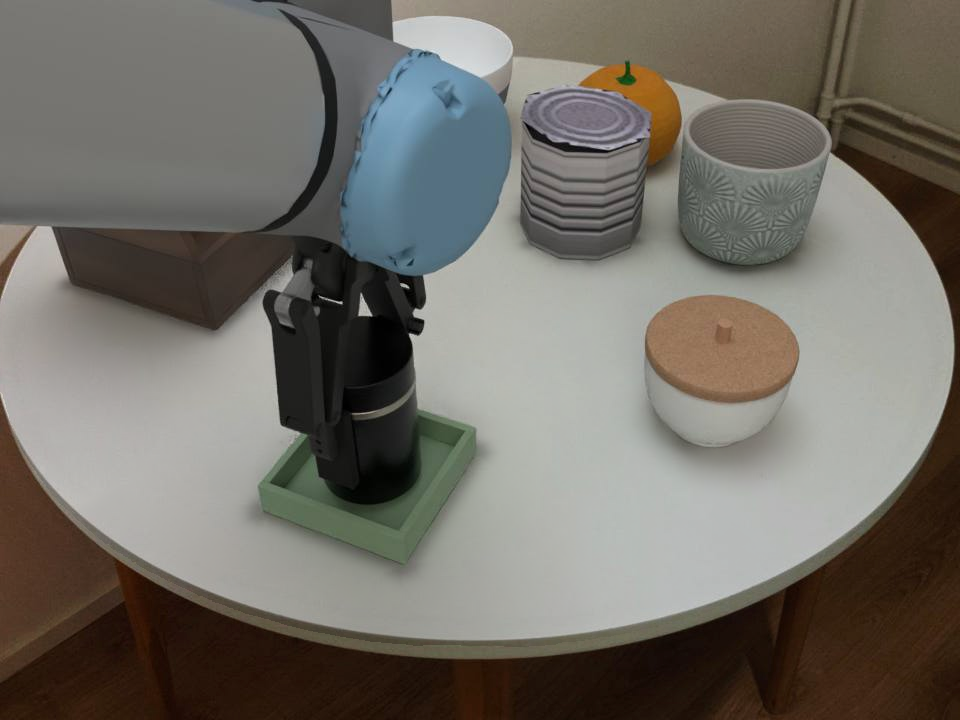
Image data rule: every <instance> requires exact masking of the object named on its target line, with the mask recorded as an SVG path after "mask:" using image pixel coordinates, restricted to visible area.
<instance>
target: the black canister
mask: <svg viewBox="0 0 960 720" xmlns="http://www.w3.org/2000/svg"><path fill="white" fill-rule="evenodd" d="M416 383H417V372H416V367H415V357H414V346H413V341H412V339H411V336H410V334H409V335H408V333H407V332H406V331H405V330H404V329H403V328H402V327H400V326H399V325H397V324H396V323H394V322H392V321H390V320H387V319H384V318H380V317H374V316H372V315H358V317H357V318H356V319H354V320H352V321H351V322H350V331H349V341H348V351H347V361H346V371H345V382H344V392H343V402H342V409H343V410H346V411H349V412H350V414H351V421H352V428H353V436H354V443H355V451H356V458H357V466H358V473H359V481H360V482H359V483H358V485H357V486H356V488H355V489H351V488H348V487H345V486H342V485H340V484H337V483H334V482H331V481H329V480H326V479H323V480H324V482H325V484H326V486H327V487H328V489H329V490H330V491H331V492H332V493H333V494H335V495H336V496H337V497H339V498H341V499H342V500H345V501H347V502H350V503H354V504H361V505H374V504H381V503H385V502H388V501H391V500H394V499H396V498H398V497H400V496H401V495H403V494H404V493H406V492H407V491H408V490H409V489H410V488H411V487H412V486H413V485H414V484H415V483H416V481H417V479H418V477H419V475H420V472H421V450H420V436H419V423H418V409H419V408H418V397H417V384H416Z"/></svg>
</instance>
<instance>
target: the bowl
mask: <svg viewBox="0 0 960 720" xmlns="http://www.w3.org/2000/svg"><path fill="white" fill-rule="evenodd" d="M392 23H393V42H396V43H399V44H401V45H404V46H406V47H409V48H412V49H421V50H423V51H426V50H427V51H430V52H433V53H435V54H438V55H439V57H440V59H441V60H443V61H445V62H447V63H449V64H452V65H454V66H456V67H458V68H461V69H463V70H465V71H467V72H470V73H472V74H474V75H476V76H478V77H480V78H481V79H483V80H484V81H486V82H487V83H488V84H489V85H490V86H491V87H492V88H493V89H494V90H495V92H496V93H497V94H498V96H499V97H500V98H501V100H502V102H503V104H504V105H505V104H506V103H507V98H508V94H509V88H510V84H511V80H512V76H513V75H512V74H513V64H514V53H515V52H514V51H515V50H514V46H513V45H514V44H513V42H512V40H511V39H510V38H509V36H508V35H507V34H506V33H505V32H504V31H502V30H501V29H500V28H497V27H495V26H493V25H491V24H489V23H486V22H483V21H480V20H478V19H477V20H476V19H473V18H467V17H461V16H454V15H453V16H452V15H427V16H417V17H416V16H415V17H410V18H404V19H400V20H396V21H392Z"/></svg>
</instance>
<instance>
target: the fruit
mask: <svg viewBox="0 0 960 720" xmlns="http://www.w3.org/2000/svg"><path fill="white" fill-rule="evenodd" d="M577 86H581V87H588V88H595V89H602V90H609V91H616V92H618V93H620V94H622V95H623V96H625V97H627V98H628V99H630V100H631V101H633V102H635V103H636V104H638V105H639V106H641V107H643V108H644V109H646V110H648V111H649V112H651V132H650V142H649V151H648V161H647V167H650V166H652V165H654V164H657V163H658V162H660V161H661V160H662V159H664V158H665V157H666V156H667V155H669V154H670V153H671V151H672V150H673V149H674V147H675V145H676V143H677V141H678V138H679V135H680V134H681V130H682V126H683V125H682V124H683V123H682V121H683V116H682V109H681V106H680V101H679V98H678V96H677V93H675V91H674V89H673V88H672V87H671V86H670V85H669V83H667V81H666V80H665V79H664V78H663V77H662V76H661V75H660V74H658V73H657V72H655V71H654V70H652V69H650V68H647V67H645V66H641V65H635V64H631V62H630V60H625V61H624V64H623V63H620V64H618V63H617V64H612V65H606V66H603V67H601V68H599V69H597V70H595V71H594V72H592V73H591V74H589V75H587V76H586V77H585V78H584V79H583V80H581V82H580V83H579V84H578V85H577Z"/></svg>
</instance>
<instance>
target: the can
mask: <svg viewBox="0 0 960 720" xmlns="http://www.w3.org/2000/svg"><path fill="white" fill-rule="evenodd" d="M519 119H520V120H521V144H520V145H521V150H520V151H521V154H520V155H521V156H520V164H521V165H520V210H519V211H520V216H519V217H520V218H519V221H520V222H519V224H520V226H521V228H522V230H523V233H524V235H525V237H526V239H527V241H528V244H529V245H530V246H532V247H534V248H537V249H538V250H540V251H543V252H545V253H547V254H549V255H551V256H554V257H555V258H558V259H559V260H581V261H583V260H585V261H600V260H603V259H606V258H608V257H610V256H611V257H612V256H613V255H616V254H619V253H621V252H624V251H626V250H629V249H630V248H631V247H632V245H633V243H634V241H635V239H636V237H637V235H638V234H639V232H640V230H641V225H642V217H643V207H644V198H645V188H646V179H647V171H648V166H647V161H648V151H649V142H650V132H651V112H649V111H648V110H646V109H644V108H643V107H641V106H639V105H638V104H636V103H635V102H633V101H631V100H630V99H628V98H627V97H625V96H623V95H622V94H620V93H618V92H616V91H609V90H602V89H595V88H588V87H581V86H578V85H573V84H563V85H560V86H555V87H552V88H548V89H544V90H541V91H537V92H533V93H530V94H526V97H525V100H524V104H523V107H522V111H521V115H520V118H519Z"/></svg>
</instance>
